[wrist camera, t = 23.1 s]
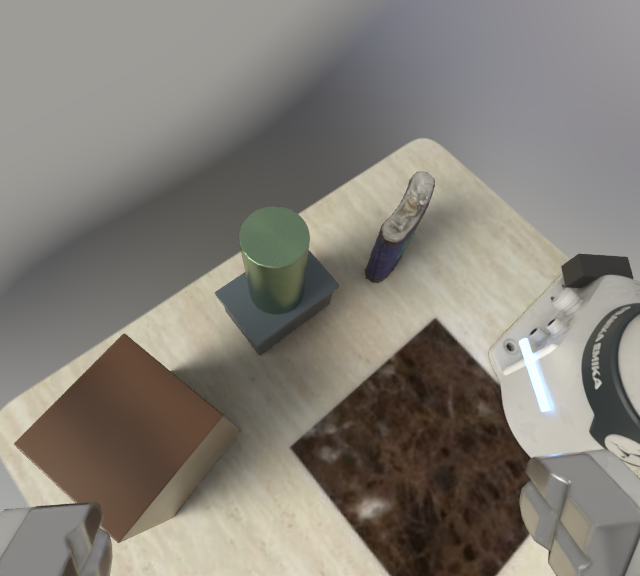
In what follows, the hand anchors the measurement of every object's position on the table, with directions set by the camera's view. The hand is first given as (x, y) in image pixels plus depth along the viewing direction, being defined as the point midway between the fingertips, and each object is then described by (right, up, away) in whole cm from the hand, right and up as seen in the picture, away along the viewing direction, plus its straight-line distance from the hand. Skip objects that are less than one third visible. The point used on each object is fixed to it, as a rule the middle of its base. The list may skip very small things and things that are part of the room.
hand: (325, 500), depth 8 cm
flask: (+8, +8, +40) cm, 42 cm away
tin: (-4, +4, +32) cm, 32 cm away
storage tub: (-4, +2, +37) cm, 37 cm away
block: (-14, -10, +31) cm, 35 cm away
